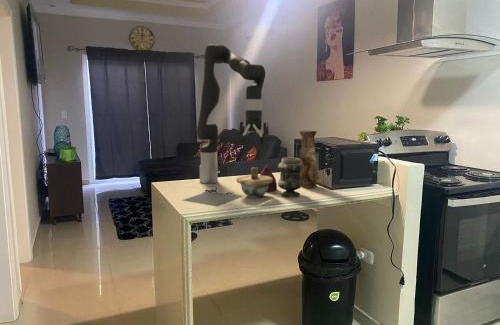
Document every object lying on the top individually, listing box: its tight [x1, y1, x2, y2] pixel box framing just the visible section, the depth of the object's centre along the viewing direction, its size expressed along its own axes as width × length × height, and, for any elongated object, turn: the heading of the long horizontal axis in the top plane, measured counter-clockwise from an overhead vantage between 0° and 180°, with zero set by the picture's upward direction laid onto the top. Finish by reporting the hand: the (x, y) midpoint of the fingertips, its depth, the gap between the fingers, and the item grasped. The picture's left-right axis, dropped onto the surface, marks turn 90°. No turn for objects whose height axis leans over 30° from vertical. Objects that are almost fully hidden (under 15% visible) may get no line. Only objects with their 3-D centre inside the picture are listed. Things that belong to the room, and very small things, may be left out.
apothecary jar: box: [277, 157, 303, 198], centre depth 185 cm, size 12×12×18 cm
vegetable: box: [259, 164, 278, 193], centre depth 195 cm, size 10×10×15 cm
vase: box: [298, 129, 319, 189], centre depth 202 cm, size 10×11×30 cm
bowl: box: [240, 184, 269, 199], centre depth 181 cm, size 14×13×8 cm
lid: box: [236, 167, 273, 185], centre depth 179 cm, size 17×17×6 cm
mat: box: [182, 191, 244, 207], centre depth 178 cm, size 20×20×1 cm
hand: (253, 144), depth 178 cm, fingers open, 8 cm apart
